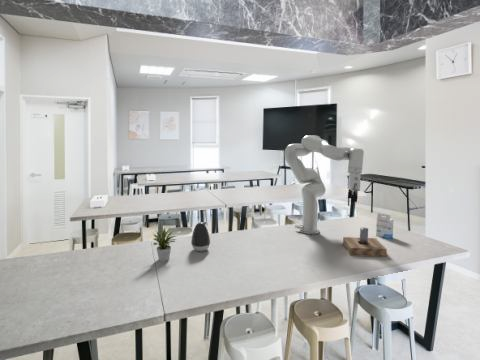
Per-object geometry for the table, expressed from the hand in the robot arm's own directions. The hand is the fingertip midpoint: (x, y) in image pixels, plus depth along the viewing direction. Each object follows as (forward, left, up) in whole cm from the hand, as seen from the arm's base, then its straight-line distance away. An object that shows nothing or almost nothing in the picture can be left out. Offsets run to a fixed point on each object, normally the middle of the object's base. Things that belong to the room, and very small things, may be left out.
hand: (352, 199), depth 179 cm
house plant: (-99, -40, -26) cm, 110 cm away
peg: (+4, -12, -25) cm, 28 cm away
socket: (+4, -12, -25) cm, 28 cm away
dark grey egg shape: (-84, -23, -26) cm, 91 cm away
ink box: (+23, +14, -26) cm, 37 cm away
